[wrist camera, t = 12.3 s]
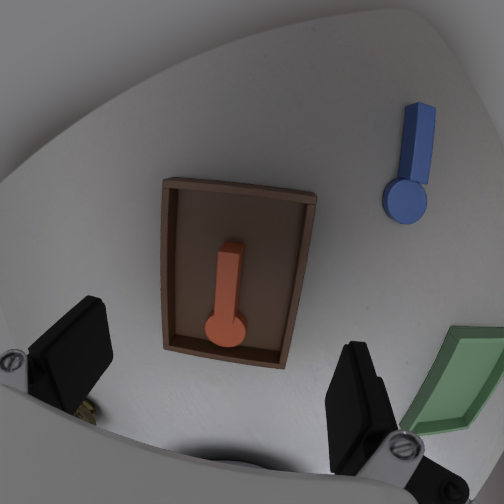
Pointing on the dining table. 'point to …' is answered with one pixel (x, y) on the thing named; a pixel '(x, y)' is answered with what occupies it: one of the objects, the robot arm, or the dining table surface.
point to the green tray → (458, 381)
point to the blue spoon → (412, 166)
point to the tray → (253, 265)
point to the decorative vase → (86, 412)
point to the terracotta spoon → (227, 298)
